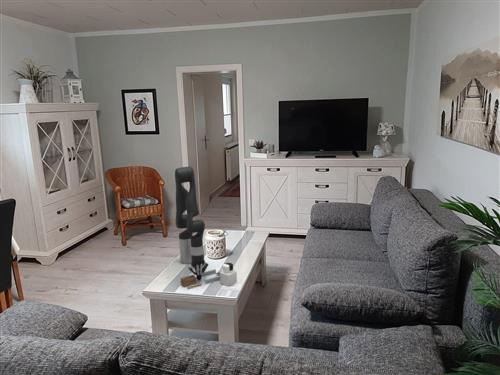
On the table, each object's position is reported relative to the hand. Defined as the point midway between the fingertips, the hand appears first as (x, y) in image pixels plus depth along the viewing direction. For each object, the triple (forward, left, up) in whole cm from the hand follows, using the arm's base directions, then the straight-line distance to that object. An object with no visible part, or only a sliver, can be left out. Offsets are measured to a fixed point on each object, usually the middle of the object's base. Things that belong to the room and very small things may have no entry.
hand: (199, 280), depth 229 cm
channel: (0, +8, -1) cm, 8 cm away
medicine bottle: (+12, +14, -1) cm, 18 cm away
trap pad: (0, +16, -1) cm, 16 cm away
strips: (0, -5, -1) cm, 5 cm away
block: (0, -7, -1) cm, 7 cm away
